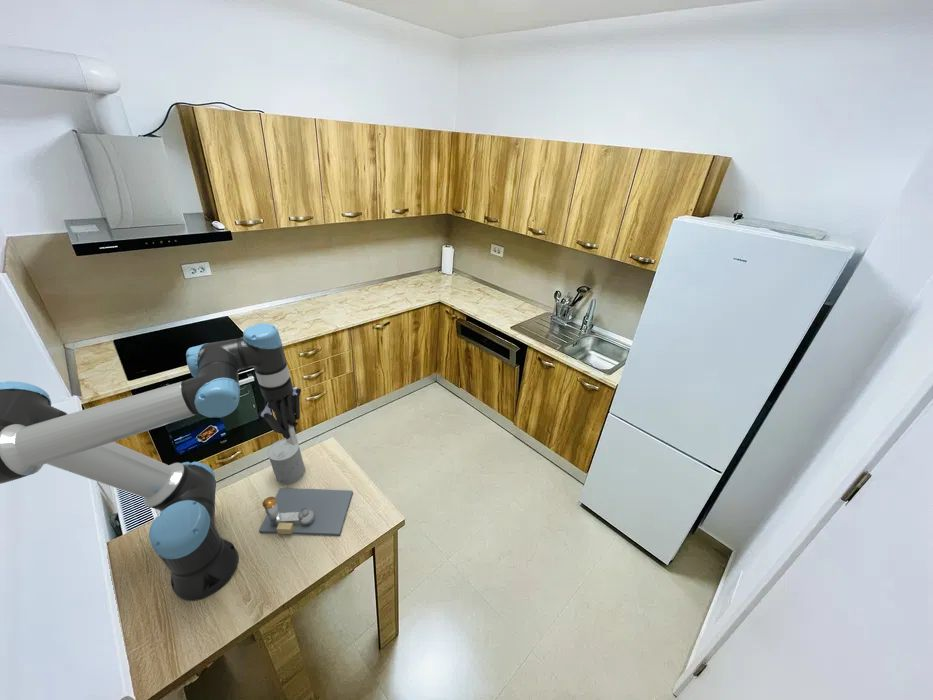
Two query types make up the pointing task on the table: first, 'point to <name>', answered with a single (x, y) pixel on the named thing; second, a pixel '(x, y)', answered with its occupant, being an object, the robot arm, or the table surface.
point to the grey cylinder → (286, 462)
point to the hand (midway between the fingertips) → (292, 442)
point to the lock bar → (286, 514)
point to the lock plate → (325, 506)
